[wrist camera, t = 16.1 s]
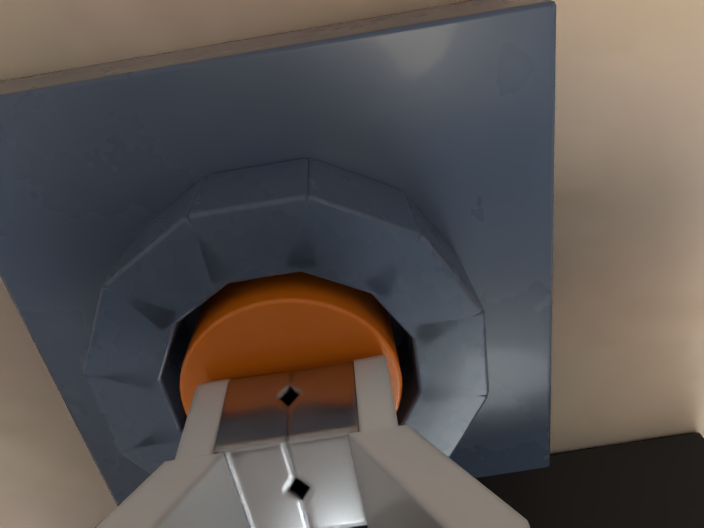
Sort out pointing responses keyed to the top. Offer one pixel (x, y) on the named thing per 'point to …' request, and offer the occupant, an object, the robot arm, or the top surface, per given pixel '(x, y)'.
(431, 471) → the robot arm
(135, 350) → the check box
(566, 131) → the top surface
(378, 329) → the button
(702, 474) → the inspection stand
